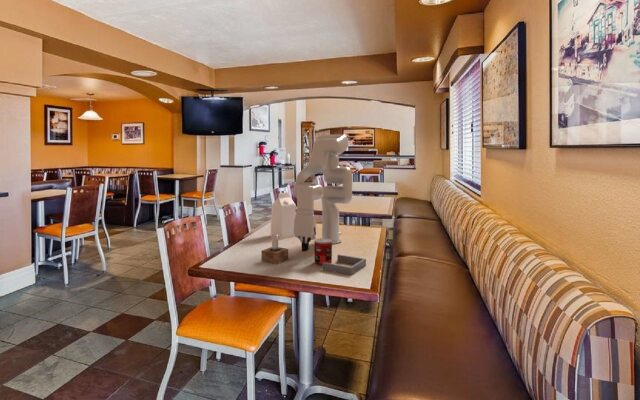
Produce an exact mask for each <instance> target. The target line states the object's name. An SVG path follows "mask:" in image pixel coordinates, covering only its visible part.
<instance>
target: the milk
mask: <svg viewBox="0 0 640 400" xmlns="http://www.w3.org/2000/svg"><path fill="white" fill-rule="evenodd" d="M295 209H297V205H296V203H295V202H294V200H293V199H292V198H291V196H290V194H289V192H280V193H278V196H277V198H276V199H275V201H273V203H272V204H271V213H270V214H271V216H270V218H271V219H270V233H269V234H270V237H272V235H274V234H276V235H278V239H279V240H280V239H281V240H283V239H287V238H293V237H295V235H294V220H295V216H296V214H297V211H295Z"/></svg>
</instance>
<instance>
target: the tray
mask: <svg viewBox="0 0 640 400" xmlns="http://www.w3.org/2000/svg"><path fill="white" fill-rule="evenodd" d="M337 262H339V263H346V264H350V265H351V264H352V265H351V266H347V265H341V264H336V263H335V264H334V263H325V262H323V263H322V266H321V267H322V268H321V269H322V271H323V270H324V271H329V272H334V273H339V274H343V275H344V274H345V275H349V276H352V275H354V274H355V273H357V272H358V271H360V270H361V269H363V268H364V267H366V266H367V259H366V258H363V257H362V258H361V257H356V256H351V255H350V256H349V255H343V254H337Z"/></svg>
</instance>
